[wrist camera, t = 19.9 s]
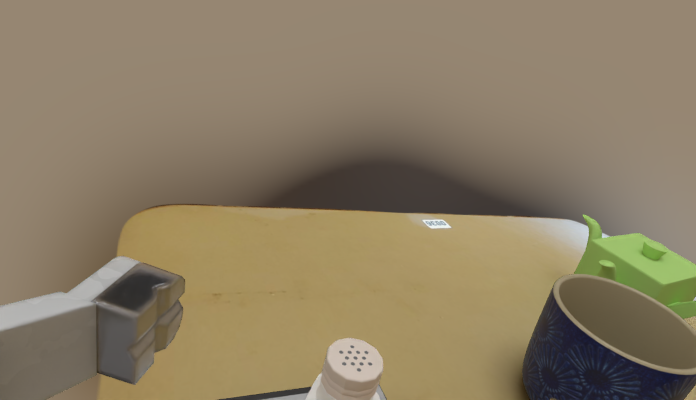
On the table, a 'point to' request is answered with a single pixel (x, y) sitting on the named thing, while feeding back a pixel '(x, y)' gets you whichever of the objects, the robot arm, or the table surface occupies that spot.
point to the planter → (608, 345)
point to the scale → (289, 395)
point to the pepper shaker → (348, 372)
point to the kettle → (641, 268)
